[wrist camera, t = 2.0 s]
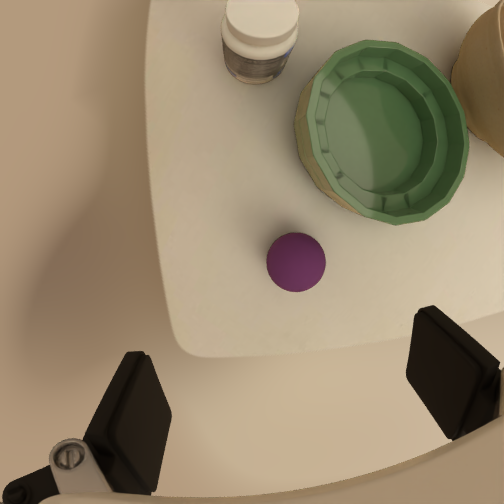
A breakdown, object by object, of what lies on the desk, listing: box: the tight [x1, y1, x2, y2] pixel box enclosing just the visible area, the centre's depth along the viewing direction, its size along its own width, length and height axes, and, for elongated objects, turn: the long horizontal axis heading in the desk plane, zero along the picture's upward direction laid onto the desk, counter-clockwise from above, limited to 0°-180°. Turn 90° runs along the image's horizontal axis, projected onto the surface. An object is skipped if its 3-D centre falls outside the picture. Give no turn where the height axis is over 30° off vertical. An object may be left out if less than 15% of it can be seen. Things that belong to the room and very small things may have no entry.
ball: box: [267, 233, 326, 292], centre depth 23 cm, size 4×4×4 cm
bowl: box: [294, 40, 469, 225], centre depth 20 cm, size 13×13×5 cm
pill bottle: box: [221, 0, 299, 84], centre depth 16 cm, size 5×5×8 cm
